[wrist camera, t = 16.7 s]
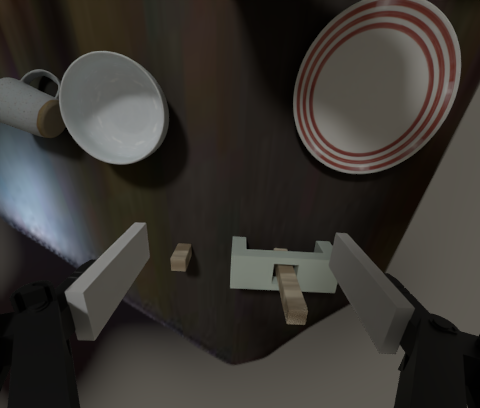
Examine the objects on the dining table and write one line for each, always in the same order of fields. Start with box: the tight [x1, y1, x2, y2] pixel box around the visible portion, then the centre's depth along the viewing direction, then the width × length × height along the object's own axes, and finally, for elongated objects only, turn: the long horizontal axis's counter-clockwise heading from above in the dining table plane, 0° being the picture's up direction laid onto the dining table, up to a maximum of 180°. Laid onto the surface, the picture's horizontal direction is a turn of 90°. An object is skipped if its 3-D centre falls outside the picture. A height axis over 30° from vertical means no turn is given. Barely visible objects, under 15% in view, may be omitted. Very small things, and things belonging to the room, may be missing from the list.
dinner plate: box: [293, 0, 461, 174], centre depth 40 cm, size 27×27×3 cm
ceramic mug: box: [0, 69, 66, 138], centre depth 38 cm, size 11×8×8 cm
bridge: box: [230, 237, 337, 293], centre depth 50 cm, size 8×22×8 cm, turn 87°
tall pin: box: [274, 248, 308, 325], centre depth 45 cm, size 3×3×18 cm
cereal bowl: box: [59, 51, 169, 165], centre depth 39 cm, size 17×17×7 cm
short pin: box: [171, 243, 192, 271], centre depth 50 cm, size 3×3×6 cm
